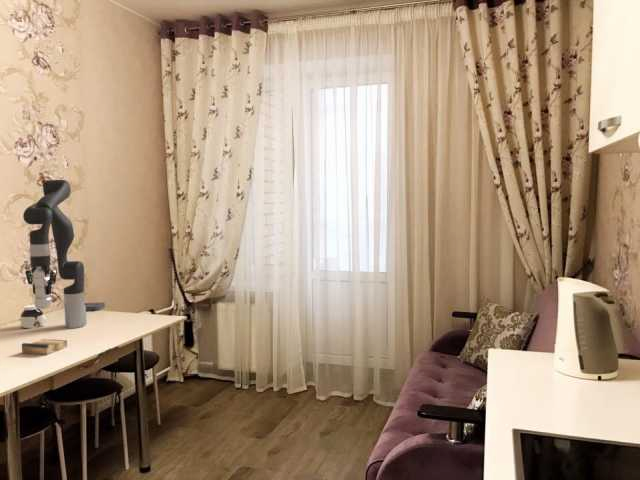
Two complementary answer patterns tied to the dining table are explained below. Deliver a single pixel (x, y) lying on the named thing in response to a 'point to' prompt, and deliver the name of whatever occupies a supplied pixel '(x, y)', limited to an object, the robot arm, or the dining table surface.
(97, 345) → the dining table surface
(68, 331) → the dining table surface
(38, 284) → the plastic bottle
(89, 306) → the streaming box
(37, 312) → the spread jar
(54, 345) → the dock
